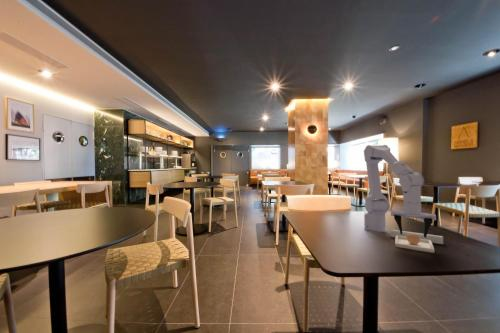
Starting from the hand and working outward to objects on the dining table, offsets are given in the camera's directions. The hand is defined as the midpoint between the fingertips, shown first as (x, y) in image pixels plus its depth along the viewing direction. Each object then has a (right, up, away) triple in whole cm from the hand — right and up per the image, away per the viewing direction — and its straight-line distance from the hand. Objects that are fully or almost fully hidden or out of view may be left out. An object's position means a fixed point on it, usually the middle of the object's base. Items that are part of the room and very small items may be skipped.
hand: (412, 235), depth 85 cm
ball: (0, -2, 0) cm, 2 cm away
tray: (0, -4, 0) cm, 4 cm away
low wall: (+6, -4, +6) cm, 9 cm away
